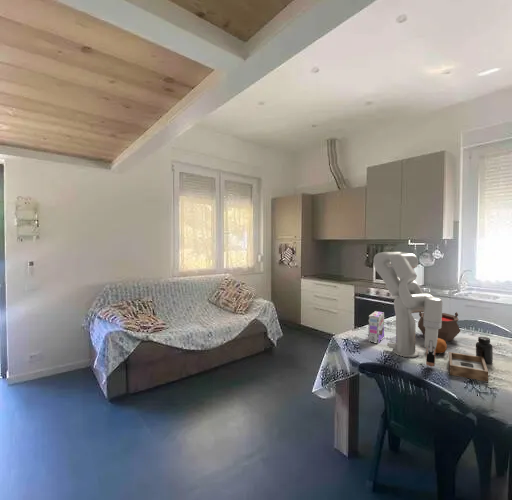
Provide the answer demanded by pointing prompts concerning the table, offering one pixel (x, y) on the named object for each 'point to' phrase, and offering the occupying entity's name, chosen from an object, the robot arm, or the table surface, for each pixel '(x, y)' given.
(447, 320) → the brown cooking pot
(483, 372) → the wooden rectangular frame
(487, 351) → the supplement bottle
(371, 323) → the candy box
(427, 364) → the peg
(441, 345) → the potato
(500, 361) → the table surface
